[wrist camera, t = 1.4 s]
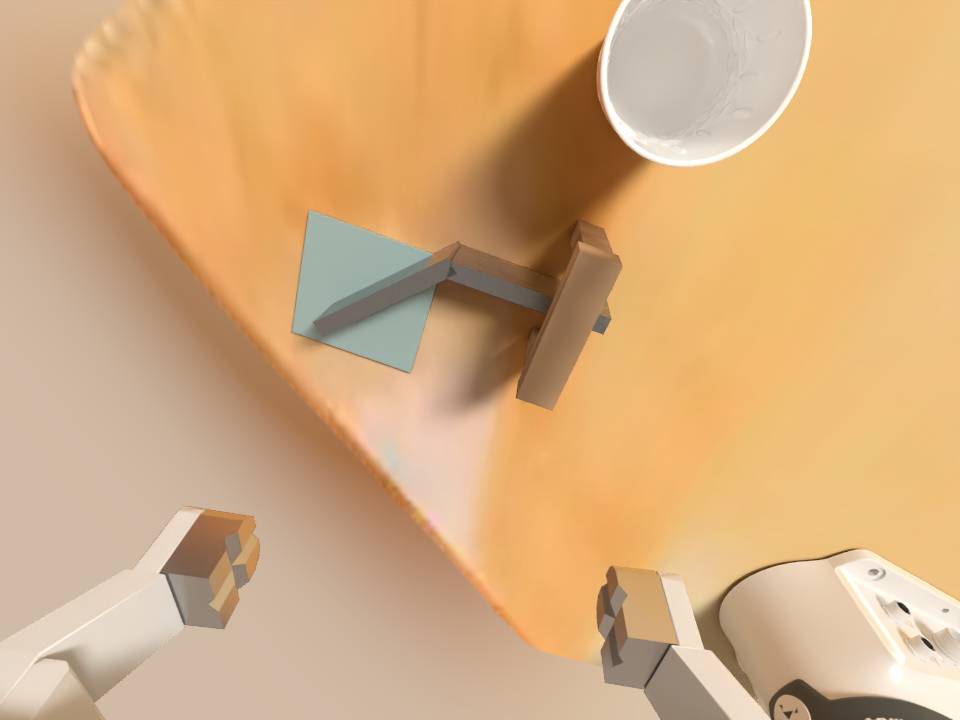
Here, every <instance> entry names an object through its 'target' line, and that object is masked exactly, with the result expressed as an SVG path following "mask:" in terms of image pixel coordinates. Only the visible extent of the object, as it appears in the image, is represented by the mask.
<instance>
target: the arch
mask: <svg viewBox="0 0 960 720" xmlns="http://www.w3.org/2000/svg"><path fill="white" fill-rule="evenodd" d="M570 243H571V251H572V256H571V259H570V261H569V263H568V266H567V268H566V271H565V273H564V275H563V278H562V280H561V282H560V285H559V287H558V289H557V292H556V294H555V296H554V299H553V301H552V303H551V306H550V308H549V310H548V313H547V315H546V317H545V320H544V322H543V324H542V327H541V329H540V330H539V329H536V328H534V327H533V329H532V332H531V334H530V337H529V339H528V341H527V345H526V354H525V364H524V369H523V371H522V374H521V376H520V378H519V381H518V386H517V394H516V398H517V399H520V400H523V401H526V402H529V403H532V404H535V405H537V406H540V407H543V408H546V409H549V410H552V411H553V408H554V406H555V404H556V402H557V400H558V398H559V396H560V394H561V392H562V390H563V388H564V386H565V384H566V382H567V380H568V378H569V376H570V374H571V372H572V369H573V367H574V365H575V363H576V361H577V359H578V357H579V355H580V353H581V351H582V349H583V347H584V345H585V343H586V341H587V339H588V337H589V335H590V332H591V330H592V328H593V326H594V324H595V322H596V320H597V318H598V316H599V314H600V312H601V310H602V308H603V306H604V304H605V302H606V300H607V298H608V295H609V293H610V291H611V289H612V287H613V285H614V283H615V281H616V279H617V277H618V275H619V273H620V271H621V269H622V267H623V266H622V263H621V261H620V258H619V256H618V255H615V254H613V252H612V249H611V246H610V244H609V241H608V239H607V236H606V233H605V231H604V229H603V228H600V227H598V226H595V225H592V224H589V223H587V222H584V221H581V220H578V222H577V224H576V226H575V229H574V231H573V234H572V236H571V238H570Z"/></svg>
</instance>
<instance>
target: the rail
mask: <svg viewBox="0 0 960 720" xmlns="http://www.w3.org/2000/svg"><path fill="white" fill-rule="evenodd" d="M446 279H448V280H451V281H454V282H457V283H460V284H463V285H465V286H468V287H471V288H474V289H477V290H479V291H482V292H485V293H488V294H491V295H494V296H496V297H499V298H502V299H505V300H508V301H510V302H513V303H516V304H519V305H522V306H525V307H527V308H530V309H533V310H536V311H539V312H541V313H544V314H547V313H548V310H549V308H550V306H551V303H552V301H553V299H554V296H555V294H556V292H557V289H558V287H559V285H560V282H561V280H558V279H556V278H553V277H550V276H547V275H544V274H542V273H539V272H536V271H533V270H530V269H528V268H525V267H522V266H519V265H516V264H514V263H511V262H508V261H505V260H502V259H500V258H497V257H494V256H491V255H488V254H486V253H483V252H480V251H477V250H474V249H472V248H469V247H466V246H463V245H460V243H459V241H458V242H456V243H454V244H452V245H450V246H448V247H446V248H444V249H442V250H440V251H438V252H436V253H434V254H433V255H431V256H429V257H427V258H425V259H423V260H421V261H419V262H417V263H415V264H413V265H411V266H409V267H407V268H404V269H402V270H400V271H398V272H396V273H394V274H392V275H390V276H388V277H386V278H384V279H382V280H380V281H378V282H376V283H374V284H372V285H370V286H368V287H366V288H364V289H361V290H359V291H357V292H355V293H353V294H351V295H349V296H347V297H345V298H343V299H341V300H339V301H337V302H335V303H333V304H332V305H331V306H330V307H329V308H328V309H327V310H325V311H324V312H323V313H322V314H321V315H320V316H319V317H318V318H317V319H316V320H315V321H314V322H313V324H314V325H315V327H316V328H317V330H318V331H319V333H320V334H321V336H322V337H323V336H325V335H327V334H329V333H331V332H334V331H336V330H338V329H340V328H342V327H344V326H347V325H349V324H351V323H353V322H355V321H357V320H359V319H362V318H364V317H366V316H368V315H370V314H372V313H374V312H377V311H379V310H381V309H383V308H385V307H387V306H390V305H392V304H394V303H396V302H398V301H400V300H402V299H405V298H407V297H409V296H411V295H413V294H415V293H418V292H420V291H422V290H424V289H426V288H428V287H430V286H433V285H435V284H437V283H439V282H441V281H443V280H446ZM610 320H611V315H610V311H609V308H608V304H607V300H606V302H605V304H604V306H603V308H602V310H601V312H600V314H599V316H598V318H597V320H596V322H595V324H594V326H593V328H592V331H595V332H598V333H601V334H604V332H605V330H606V328H607V326H608V324H609V322H610Z"/></svg>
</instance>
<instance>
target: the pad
mask: <svg viewBox="0 0 960 720" xmlns="http://www.w3.org/2000/svg"><path fill="white" fill-rule="evenodd" d="M431 255H433V253H430V252H427V251H424V250H422V249H419V248H416V247H413V246H410V245H408V244H405V243H402V242H399V241H396V240H394V239H391V238H388V237H385V236H382V235H379V234H377V233H374V232H371V231H368V230H365V229H363V228H360V227H357V226H354V225H351V224H349V223H346V222H343V221H340V220H337V219H335V218H332V217H329V216H326V215H323V214H321V213H318V212H315V211H312V210H310V211H309V215H308V222H307V229H306V236H305V243H304V250H303V257H302V265H301V272H300V279H299V286H298V293H297V300H296V307H295V315H294V322H293V329H292V332H294V333H297V334H300V335H303V336H306V337H308V338H311V339H314V340H317V341H320V342H323V343H326V344H329V345H331V346H334V347H337V348H340V349H343V350H346V351H349V352H352V353H355V354H357V355H360V356H363V357H366V358H369V359H372V360H375V361H378V362H380V363H383V364H386V365H389V366H392V367H395V368H398V369H401V370H403V371H406V372H409V373H411V371H412V368H413V364H414V361H415V357H416V354H417V351H418V347H419V344H420V340H421V337H422V333H423V330H424V327H425V323H426V320H427V316H428V313H429V309H430V306H431V303H432V299H433V296H434V292H435V289H436V285H437V284H435V285H433V286H430V287H428V288H426V289H424V290H422V291H420V292H418V293H415V294H413V295H411V296H409V297H407V298H405V299H402V300H400V301H398V302H396V303H394V304H392V305H390V306H387V307H385V308H383V309H381V310H379V311H377V312H374V313H372V314H370V315H368V316H366V317H364V318H362V319H359V320H357V321H355V322H353V323H351V324H349V325H347V326H344V327H342V328H340V329H338V330H336V331H334V332H331V333H329V334H327V335H325V336H323V337H322V336H321V334H320V333H319V331H318V330H317V328H316V327H315V325H314V324H313V322H314V321H315V320H316V319H317V318H318V317H319V316H320V315H321V314H322V313H323V312H324V311H325V310H327V309H328V308H329V307H330V306H331V305H332V304H333V303H335V302H337V301H339V300H341V299H343V298H345V297H347V296H349V295H351V294H353V293H355V292H357V291H359V290H361V289H364V288H366V287H368V286H370V285H372V284H374V283H376V282H378V281H380V280H382V279H384V278H386V277H388V276H390V275H392V274H394V273H396V272H398V271H400V270H402V269H404V268H407V267H409V266H411V265H413V264H415V263H417V262H419V261H421V260H423V259H425V258H427V257H429V256H431Z"/></svg>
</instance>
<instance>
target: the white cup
mask: <svg viewBox="0 0 960 720" xmlns="http://www.w3.org/2000/svg"><path fill="white" fill-rule="evenodd" d="M811 34H812V20H811V10H810V4H809V0H622V2H621V4H620V5H619V7H618V9H617V11H616V13H615V15H614V17H613V19H612V21H611V24H610V26H609V29H608V32H607V34H606V36H605V39H604V41H603V44H602V47H601V50H600V54H599V59H598V65H597V75H596V83H597V93H598V98H599V102H600V105H601V108H602V110H603V112H604V115H605V117H606V119H607V120H608V122H609V124H610V125H611V127H612V128H613V129H614V131H615V132H616V133H617V134H618V135H619V137H620V138H621V139H622V140H623V141H624V143H625V144H626V145H627V146H628V147H630V148H631V149H632V150H633V151H634V152H636V153H637V154H639V155H640V156H642V157H644V158H646V159H648V160H650V161H652V162H655V163H658V164H661V165H665V166H671V167H697V166H703V165H707V164H711V163H715V162H718V161H720V160H723V159H725V158H728V157H730V156H732V155H734V154H736V153H737V152H739V151H741V150H742V149H744V148H745V147H747V146H748V145H750V144H751V143H753V142H754V141H755V140H756V139H758V138H759V137H760V136H761V135H762V134H763V133H764V132H765V131H766V130H767V129H768V128H769V127H770V126H771V125H772V124H773V123H774V122H775V121H776V120H777V118H778V117H779V116H780V115H781V113H782V112H783V111H784V109H785V108H786V106H787V105H788V103H789V102H790V100H791V98H792V97H793V95H794V93H795V91H796V89H797V87H798V85H799V83H800V80H801V78H802V75H803V73H804V70H805V67H806V63H807V60H808V55H809V50H810V44H811Z"/></svg>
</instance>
